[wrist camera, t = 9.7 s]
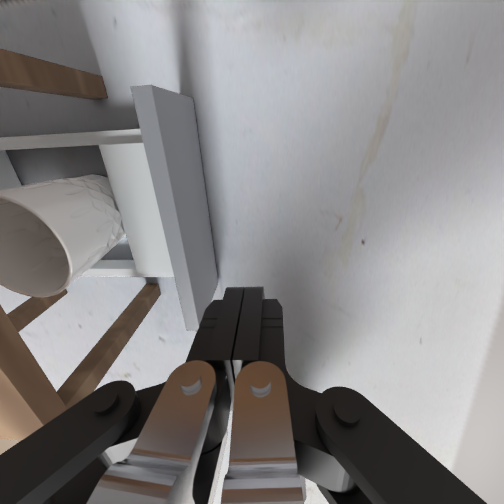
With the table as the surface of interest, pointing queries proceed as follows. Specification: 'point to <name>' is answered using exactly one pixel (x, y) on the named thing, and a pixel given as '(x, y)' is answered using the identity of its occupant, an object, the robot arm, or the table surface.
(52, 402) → the wooden side table
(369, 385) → the table surface
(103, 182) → the white cup
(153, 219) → the white drawer
